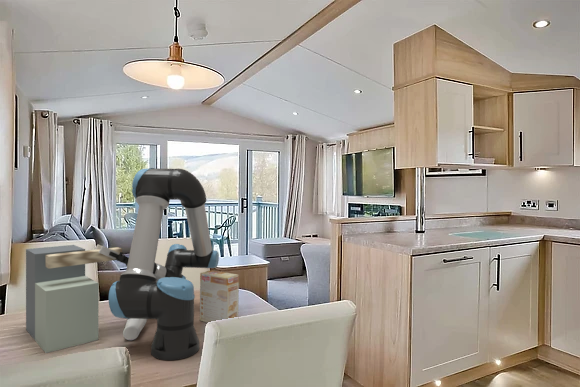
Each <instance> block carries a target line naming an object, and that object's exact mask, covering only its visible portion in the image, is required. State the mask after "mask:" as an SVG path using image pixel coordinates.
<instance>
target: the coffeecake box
mask: <svg viewBox="0 0 580 387" xmlns="http://www.w3.org/2000/svg"><path fill="white" fill-rule="evenodd" d="M199 276H200V277H199V287H200V288H199V321H200V322H204V323H206V324H209V323H208V322H211V321H216V320H222V319H228V318H234V317H238V318H239V306H240V305H239V299H240V298H239V296H240V295H239V291H240V289H239V288H240V287H239V286H240V281H239V280H240V279H239V278H240V277H239V276H240V275H239V274H236V273H231V272H226V271H225V272H224V271H219V270H212V269H211V270H207V271H202V272H200V273H199Z"/></svg>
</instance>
